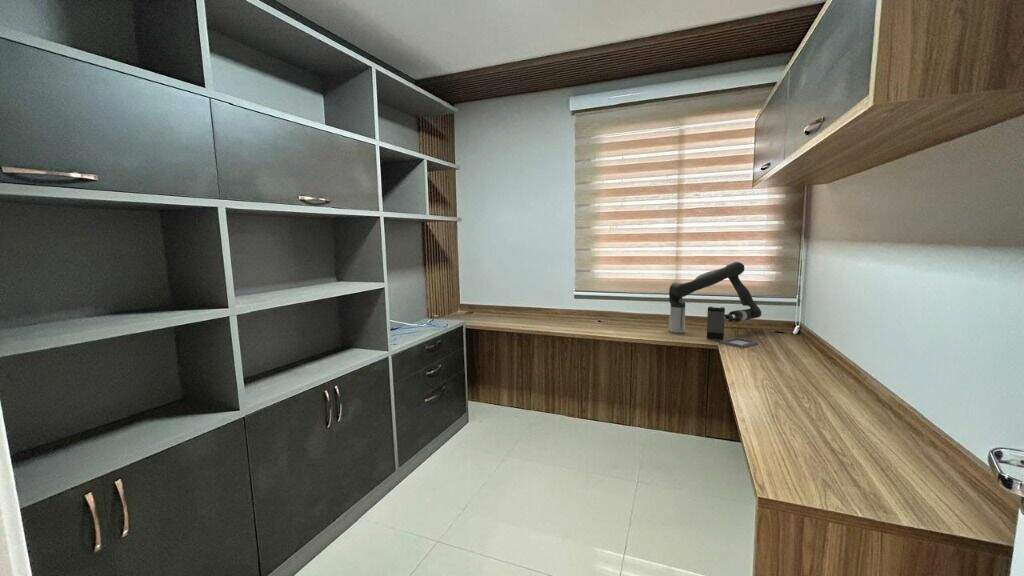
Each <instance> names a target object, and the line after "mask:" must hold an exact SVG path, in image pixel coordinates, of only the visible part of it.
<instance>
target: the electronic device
mask: <svg viewBox="0 0 1024 576" xmlns="http://www.w3.org/2000/svg"><path fill="white" fill-rule="evenodd" d="M725 314H726V307H713V306H708V307H707V314H706V315H707V316H706V317H707V318H706V320H707V321H706V339H707V340H712V341H718V342H719V341H722V340H725V338H724V337H725V335H724V334H725V320H724V319H725Z"/></svg>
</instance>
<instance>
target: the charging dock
mask: <svg viewBox="0 0 1024 576" xmlns="http://www.w3.org/2000/svg"><path fill="white" fill-rule="evenodd" d="M719 343H720V344H721V343H722V344H721V345H726V346H731V347H735V348H739V349H740V348H741V349H743V348H747V347H751V346H755V345H758V344H759V342H758V341H757V340H752V339H748V338H743V337H737V336H734V337H731V338H726V339H724V340H722V341H720V342H719Z"/></svg>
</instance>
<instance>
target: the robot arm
mask: <svg viewBox="0 0 1024 576" xmlns="http://www.w3.org/2000/svg"><path fill="white" fill-rule="evenodd" d="M745 269H746V268H745V264H743V263H742V262H740V261H733V262H731V263H729V264H726V265H725V266H723V267H722V268H718V269H714V270H713V269H712V270H709V271H706V272H705V273H702V274H699V275H698V276H696V277H695V278H694V279H692V280H691V281H687V282H684V283H682V282H673V283H672V284H671V285H670V286H669V290H668V291H669V292H668V293H669V294H668V295H669V297H668V298H669V299H668V300H669V304H670V308H669V309H670V311H669V313H670V316H669V317H668V332H671V333H674V334H675V333H676V334H683V333H685V330H686V329H685V328H686V324H685V323H686V302H685V301H684V299H683V298H684V297H687V296H689V295H691V294H692V293H694V292H698V291H700V290H702V289H704V288H705V289H706V288H709V287H710V286H713V285H716V284H719V283H720V282H722V281H725V280H726V279H728V280H729V282H730V283H731V284H732V286H733V288H734V290H735V291H736V294H737V296H738V299H739V301H740V303H741V305H742V306H743V307H745V306H747V307H749V308H746V309H738V310H737V309H736V310H731V311H730V312H729V313H725V319H724V321H728V322H730V323H735V324H736V323H739V322H744V321H747V320H752V319H757V318H760V317H761V316H762V310H761V308H760V307H759V306H758V305H757V304H756V303H755V302H756V301H754V299H753V298H752V297H753V296H752V295H751V292H750V291H749V289H748V288H747V287H746V285H744V283H742V281H741V279H740V277H739V276H741V275H742V274H743V273H744V272H745Z"/></svg>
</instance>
